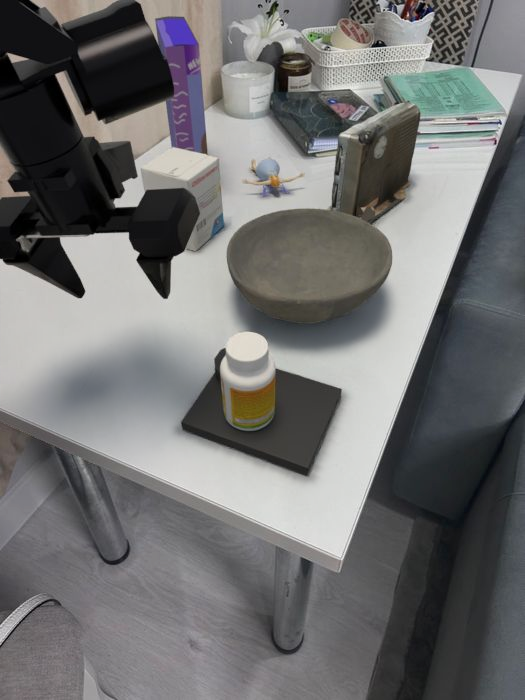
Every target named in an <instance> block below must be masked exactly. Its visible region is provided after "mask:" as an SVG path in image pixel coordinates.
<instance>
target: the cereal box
mask: <svg viewBox="0 0 525 700" xmlns="http://www.w3.org/2000/svg"><path fill="white" fill-rule="evenodd" d="M154 21H155V29H156V30H155V31H156V37H157V43H158V45H159V48H160V50H161V53H162V54H163V55H164V56H165V57H166V59H167V61H168V64H169V68H170V71H171V75H172V79H173V84H174V97H173V98H172V99H170V100H167V101H165V106H166V114H167V122H168V131H169V138H170V145H171V148H172V147H176V148H180V149H185V150H189V151H193V152H198V153H202V154H206V155H209V152H208V140H207V128H206V126H207V125H206V115H205V114H206V113H205V102H204V91H203V78H202V65H201V53H200V43H199V41H198V40H197V38H196V37H195V33H193V31H192V29H191V27H190V25H189V24H188V21H187V20H186V18H185V16H176V15H175V16H173V15H172V16H171V15H168V16H161V17H157V18H154Z"/></svg>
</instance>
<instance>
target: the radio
mask: <svg viewBox="0 0 525 700" xmlns="http://www.w3.org/2000/svg"><path fill="white" fill-rule="evenodd" d="M420 121H421V110H420V108H419V107H418V106H417V105H416V104H415V103H413V102H411V101H410V100H407V101H405V102H401V103H397V104H394V105H392V106H390V107H388V108H386V109H384V110H383V111H379V112H378V113H376V114H374V115H372V116H370V117H368V118H367V119H366V120H363V121H360V122H359V123H355V124H353V125H351V126H350V127H349V128H347V129H346V130H345V131H342V132H340V133H339V135H338V137H337V147H336V154H335V164H334V170H333V183H332V189H331V205H330V206H329V207H327V208H326V210H331V211H336V212H342V213H346V214H349V215H352V216H356V217H358V218H360V219H362V220H364V221H366V222H368V223H370V224H371V223H372V222H374V221H375V220H377V219H378V218H379V217H381V216H382V215H384V213H386V212H387V211H388V210H391V208H393V207H394V206H396V205H397V204H398V203H400V202H401V201H403V200H404V199H405V198H406V195H407V193H406V191H405V190H406V189H407V187H408V186H410V185H411V182H410V181H409V177H410V175H411V170H412V163H413V158H414V154H415V148H416V143H417V136H418V131H419V127H420Z"/></svg>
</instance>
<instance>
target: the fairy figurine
mask: <svg viewBox="0 0 525 700" xmlns="http://www.w3.org/2000/svg"><path fill="white" fill-rule="evenodd" d="M251 169H252V171H254V172H255V175H256V176H257V178H258V179H259V180H260V181H249V180H248V179H246V178H243V179H242V183H243V184H248V185H253V186H262V189H263V190H262V191H263V192H262V194H261V197H262V198H265V197H266V196H267V195H269V193H270V192H271V190H273V188H274V189H276V188H279V190H281V191H282V192H283V193H284V194H286V195H289V194H291V193H290V191H288V190H287V188H286V186H285V185H284V183H291V182H293V181H296V180H297V179H299V178H303V177H305V172H303V171H302V172H301V173H299V175H296V176H294V177H291V178H279V174H280V169H281V167H280V164H279V162H278V161H277V160H276V159H273V158H271V157H270V156H269V157H267V158H264V159H262V160H261V161H260V162H258V164H257V165H256V159H255V158H252V159H251ZM270 187H271V188H270ZM281 187H282V188H281Z"/></svg>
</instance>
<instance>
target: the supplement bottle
mask: <svg viewBox="0 0 525 700" xmlns="http://www.w3.org/2000/svg"><path fill="white" fill-rule="evenodd" d="M225 347H226V355H225V357H224V358H223V360H222V362H221V365H220V377H221V388H222V399H223V410H224V415H225V418H226V420H227V421H228V423H229V424H230V425H232V426H233V427H235V428H237V429H240V430H244V431H254V430H258V429H261V428H263V427H265V426H266V425H267V424H269V423H270V421H271V420H272V418H273V416H274V413H275V375H276V370H275V368H276V362H275V360H274V358H273V356H272V355H271V354H270V353H269V352H270V349H269V342H268V341H267V340H266V338H265V337H264V336H263V335H262V334H259V333H257V332H254V331H253V332H251V331H242V332H238V333H236V334H234V335H232V336H230V338H228V339H227V341H226V344H225Z"/></svg>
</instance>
